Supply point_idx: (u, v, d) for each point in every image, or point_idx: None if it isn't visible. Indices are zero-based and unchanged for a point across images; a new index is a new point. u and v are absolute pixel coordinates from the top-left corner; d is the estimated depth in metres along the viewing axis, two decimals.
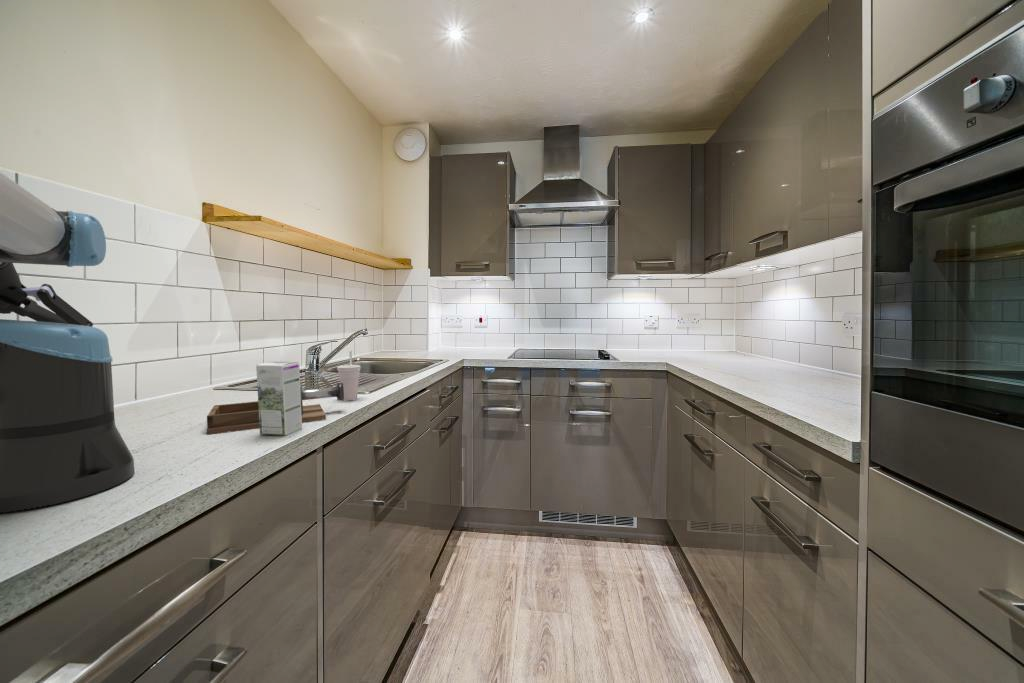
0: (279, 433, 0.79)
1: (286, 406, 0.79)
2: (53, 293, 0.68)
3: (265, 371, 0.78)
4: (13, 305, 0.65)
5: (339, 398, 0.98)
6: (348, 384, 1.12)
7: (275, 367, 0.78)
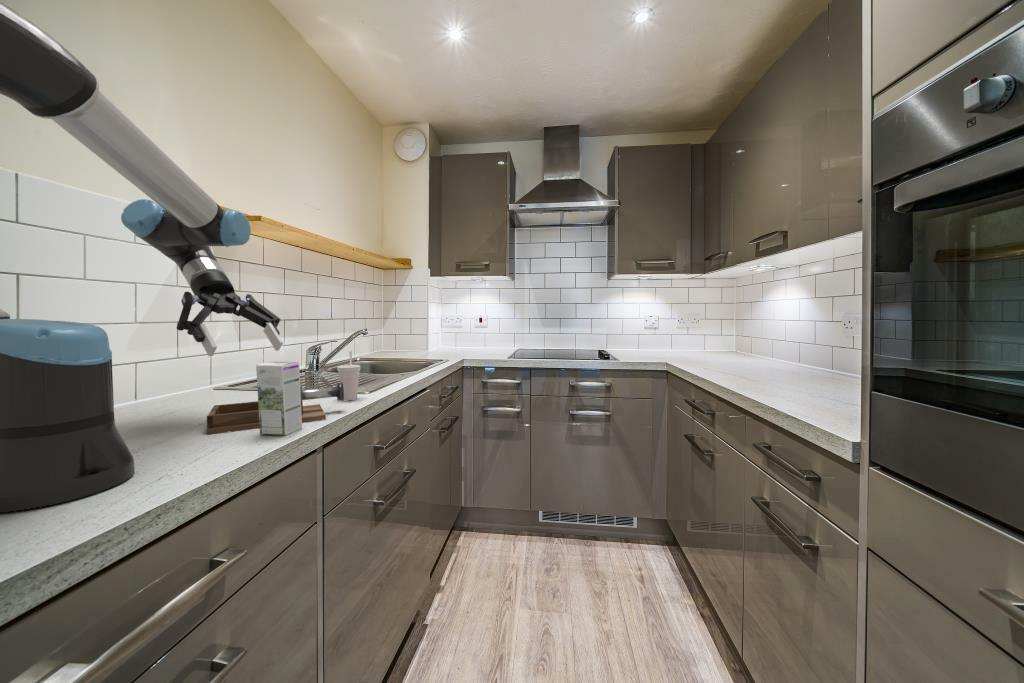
0: (279, 433, 0.79)
1: (286, 406, 0.79)
2: None
3: (264, 371, 0.78)
4: (237, 299, 0.92)
5: (339, 398, 0.98)
6: (348, 384, 1.12)
7: (275, 367, 0.78)
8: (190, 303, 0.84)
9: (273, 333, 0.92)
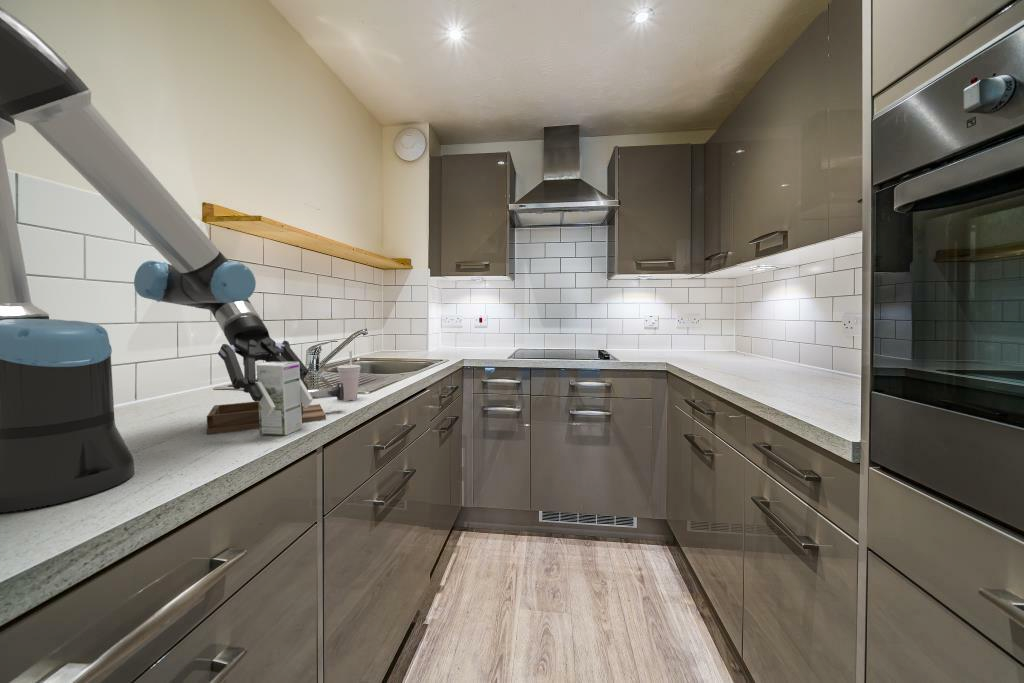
0: (279, 433, 0.79)
1: (286, 405, 0.79)
2: None
3: (265, 370, 0.79)
4: (272, 345, 0.86)
5: (339, 398, 0.98)
6: (348, 384, 1.12)
7: (275, 367, 0.78)
8: (234, 357, 0.79)
9: (302, 388, 0.84)
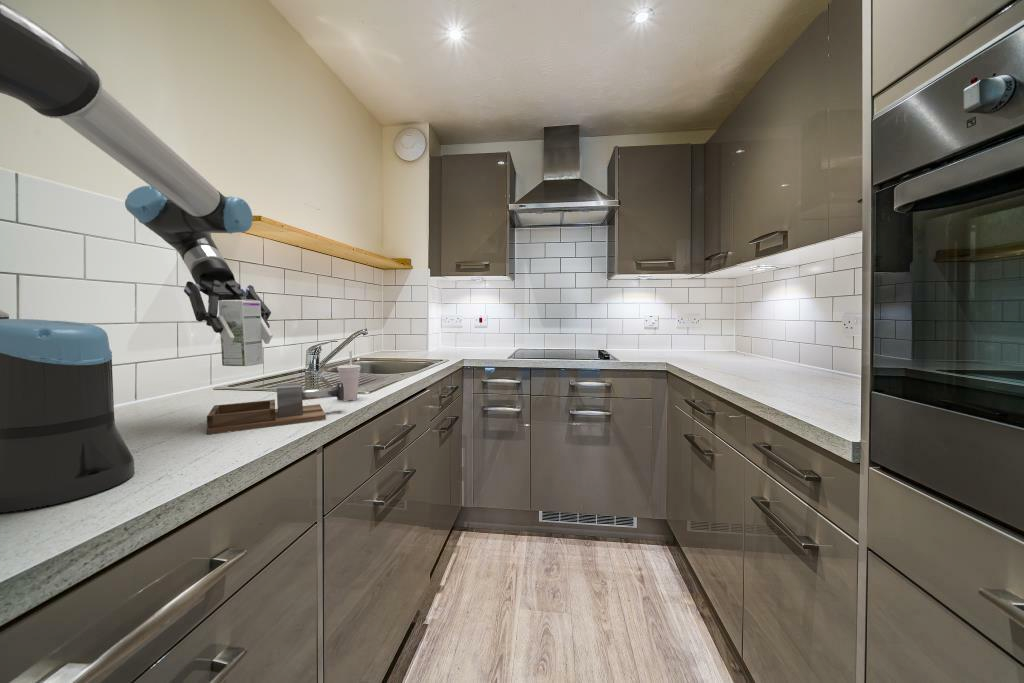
0: (239, 364, 0.86)
1: (246, 339, 0.86)
2: None
3: (226, 305, 0.85)
4: (236, 287, 0.93)
5: (339, 398, 0.98)
6: (348, 384, 1.12)
7: (235, 302, 0.85)
8: (198, 293, 0.85)
9: (263, 326, 0.90)
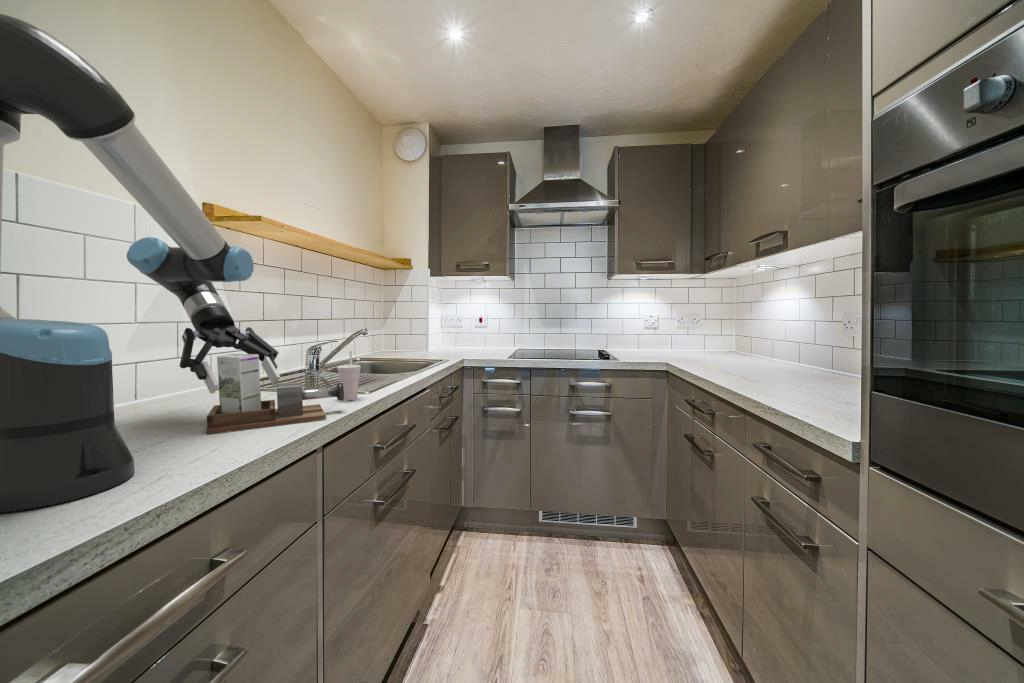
0: None
1: (243, 394, 0.86)
2: None
3: (224, 362, 0.86)
4: (237, 332, 0.94)
5: (339, 398, 0.98)
6: (348, 384, 1.12)
7: (233, 358, 0.85)
8: (191, 340, 0.85)
9: (270, 367, 0.93)
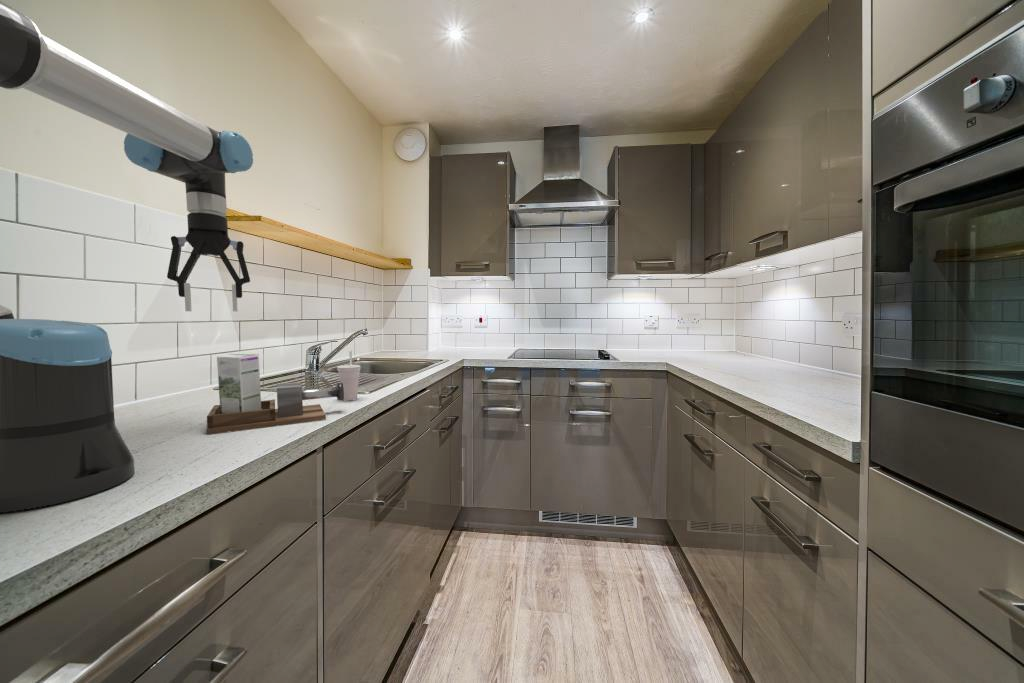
0: None
1: (243, 394, 0.86)
2: (242, 249, 0.98)
3: (224, 362, 0.86)
4: (221, 247, 0.94)
5: (339, 398, 0.98)
6: (348, 384, 1.12)
7: (233, 358, 0.85)
8: (176, 252, 0.90)
9: None
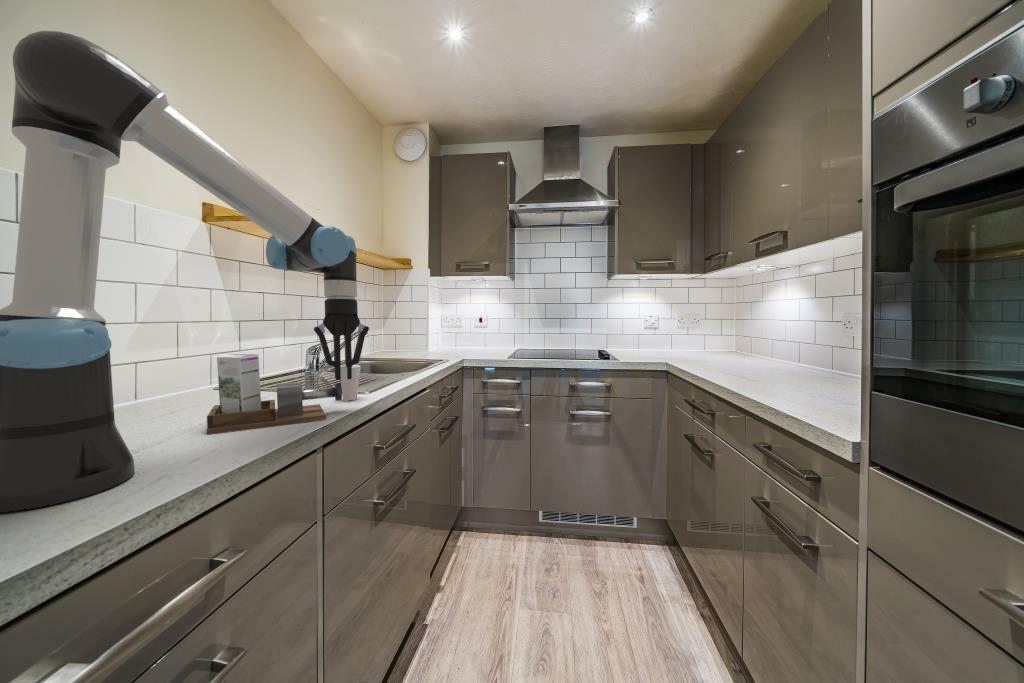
0: None
1: (243, 394, 0.86)
2: None
3: (224, 362, 0.86)
4: (350, 330, 0.99)
5: (337, 398, 0.98)
6: (348, 384, 1.12)
7: (233, 358, 0.85)
8: (324, 340, 0.96)
9: (344, 380, 0.99)
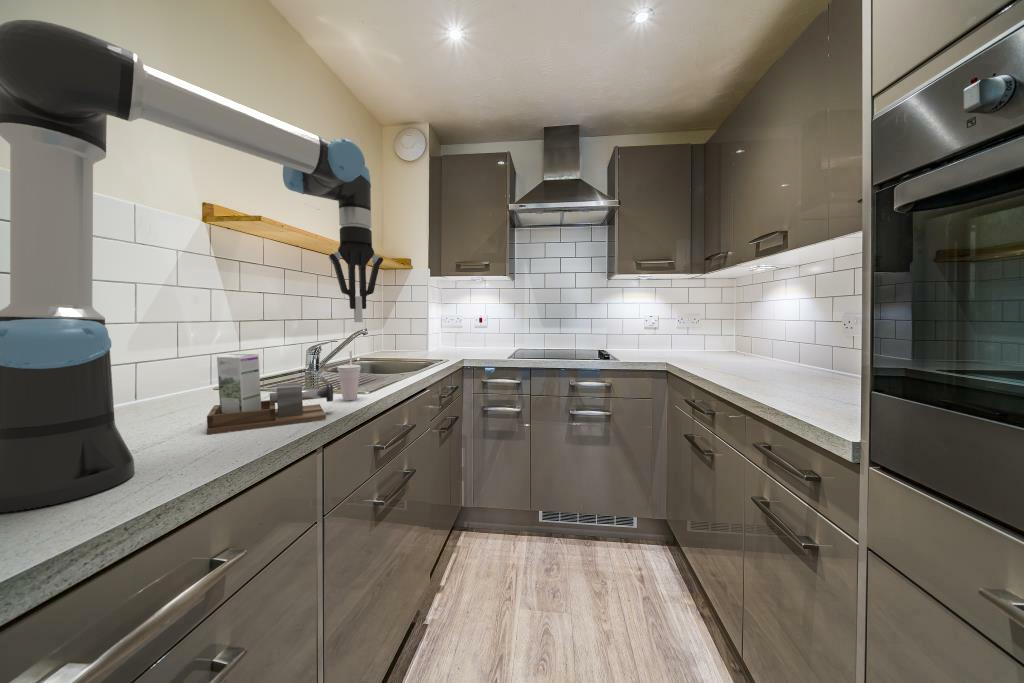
0: None
1: (243, 394, 0.86)
2: None
3: (224, 362, 0.86)
4: (365, 260, 1.00)
5: (328, 399, 0.97)
6: (348, 384, 1.12)
7: (233, 358, 0.85)
8: (339, 267, 0.97)
9: (358, 309, 1.00)
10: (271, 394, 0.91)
